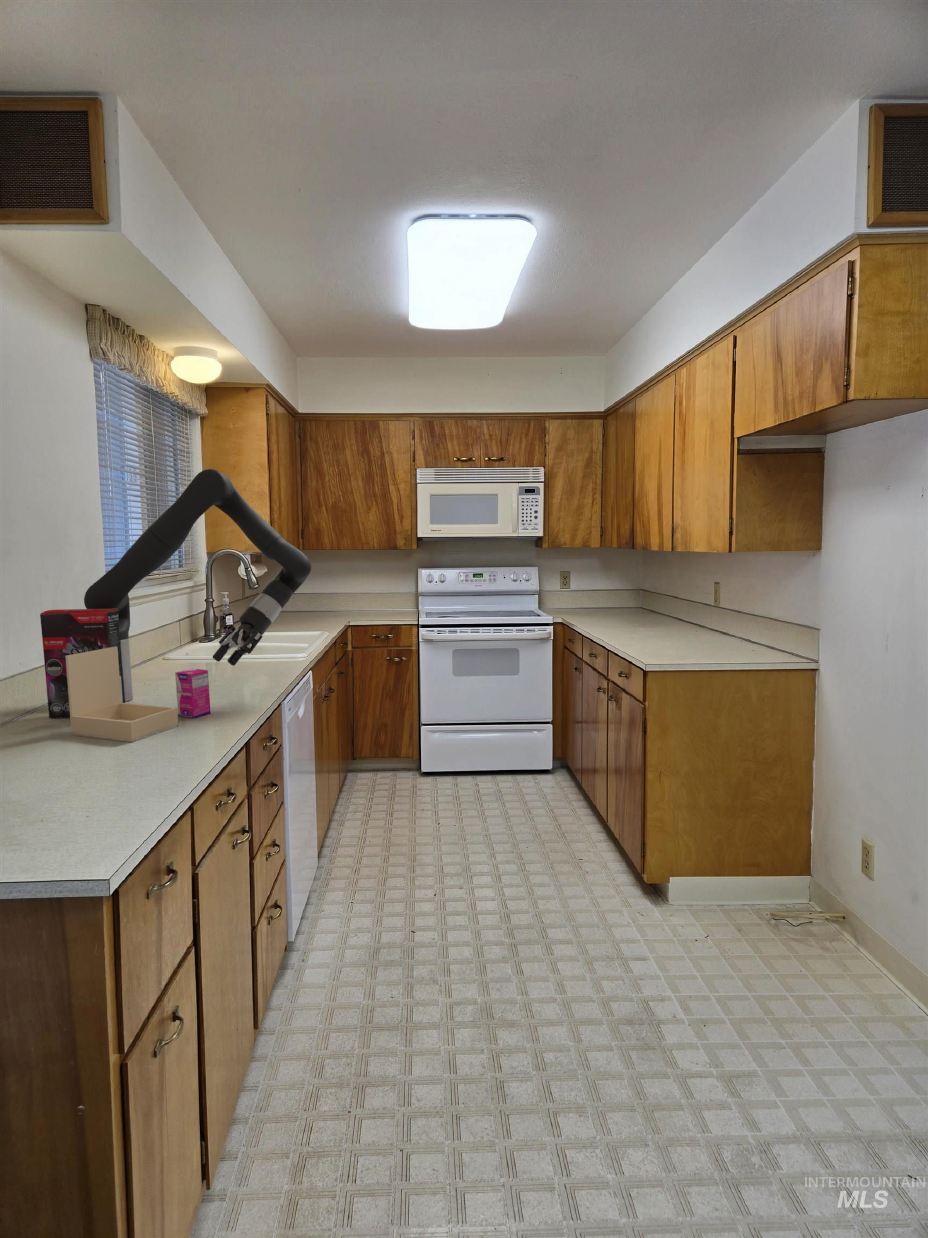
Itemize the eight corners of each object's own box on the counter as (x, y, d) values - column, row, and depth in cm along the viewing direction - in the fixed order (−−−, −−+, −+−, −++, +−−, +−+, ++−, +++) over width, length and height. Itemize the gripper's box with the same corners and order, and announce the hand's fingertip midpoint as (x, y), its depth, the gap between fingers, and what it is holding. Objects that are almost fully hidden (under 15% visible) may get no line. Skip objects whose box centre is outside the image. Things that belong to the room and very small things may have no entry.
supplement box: (177, 716, 177) (174, 671, 176) (195, 711, 183) (193, 667, 181) (193, 719, 175) (190, 673, 173) (211, 713, 180) (209, 669, 179)
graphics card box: (46, 719, 176) (37, 611, 173) (61, 713, 183) (52, 608, 180) (115, 718, 176) (107, 610, 173) (127, 711, 183) (120, 607, 180)
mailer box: (71, 735, 161) (65, 655, 159) (120, 720, 174) (115, 646, 172) (132, 742, 155) (126, 659, 153) (178, 726, 168) (173, 649, 166)
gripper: (238, 603, 193) (200, 650, 186) (264, 606, 183) (225, 656, 176) (257, 621, 197) (220, 667, 190) (283, 625, 187) (245, 673, 180)
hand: (222, 661), depth 183 cm, fingers open, 8 cm apart
